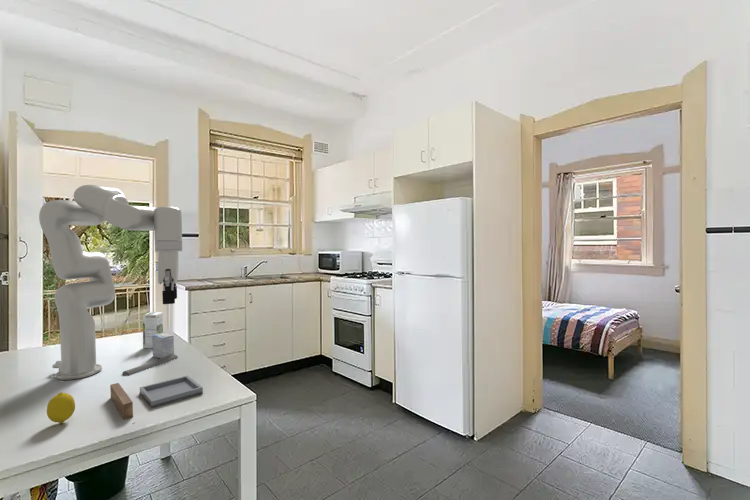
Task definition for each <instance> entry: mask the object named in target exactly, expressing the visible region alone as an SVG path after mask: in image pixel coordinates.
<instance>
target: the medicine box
mask: <svg viewBox="0 0 750 500" xmlns="http://www.w3.org/2000/svg"><path fill="white" fill-rule="evenodd" d="M174 337H175V336H174V335H173V334H169V333H164V332H163V333H160V334H156V335H153V336H152V342H153V348H152V356H153V357H154V358H158V359H162V358H165V357H168V356H171V355H175V343H174V341H175V339H174Z"/></svg>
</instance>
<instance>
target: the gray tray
mask: <svg viewBox="0 0 750 500" xmlns="http://www.w3.org/2000/svg"><path fill="white" fill-rule="evenodd" d="M139 394H140V396H141V397H142V398H143V399H144V400H145V402H146V403H148V405H149V406H150V407H151V409H153V408H157V407H160V406H163V405H167V404H171V403H173V402H177V401H181V400H184V399H185V400H186V399H188V398H191V397H195V396H198V395H201V394H204V390H203V386H202V385H201V384H200V383H198V382H197V381H195V380H194V379H192V378H191V376H189V375H184V376H180V377H176V378H175V377H174V378H171V379H167V380H165V381H159V382H156V383H151V384H147V385H145V386H140V387H139Z"/></svg>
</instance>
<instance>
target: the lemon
mask: <svg viewBox="0 0 750 500" xmlns="http://www.w3.org/2000/svg"><path fill="white" fill-rule="evenodd" d="M75 410H76V402H75V399H74V397H73V396H72V395H71V393H70V394H69V393H66V392H59V393H57V394H55V395H54V396H52V397H51V399H49V401H48V403H47V406H46V415H47V418H48V419H49V420H50V421H52V422H54V423H58V424H63V423H65V422H66V421H67V420H69V419H70V418H71V417H72V416H73V414H74V412H75Z"/></svg>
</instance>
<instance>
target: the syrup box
mask: <svg viewBox="0 0 750 500" xmlns="http://www.w3.org/2000/svg"><path fill="white" fill-rule="evenodd" d="M160 333H164V312H162V311H161V312H160V311H150V312H148V313H145V314H142V348H143V349H153V342H152V336H153V335H156V334H160Z"/></svg>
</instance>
